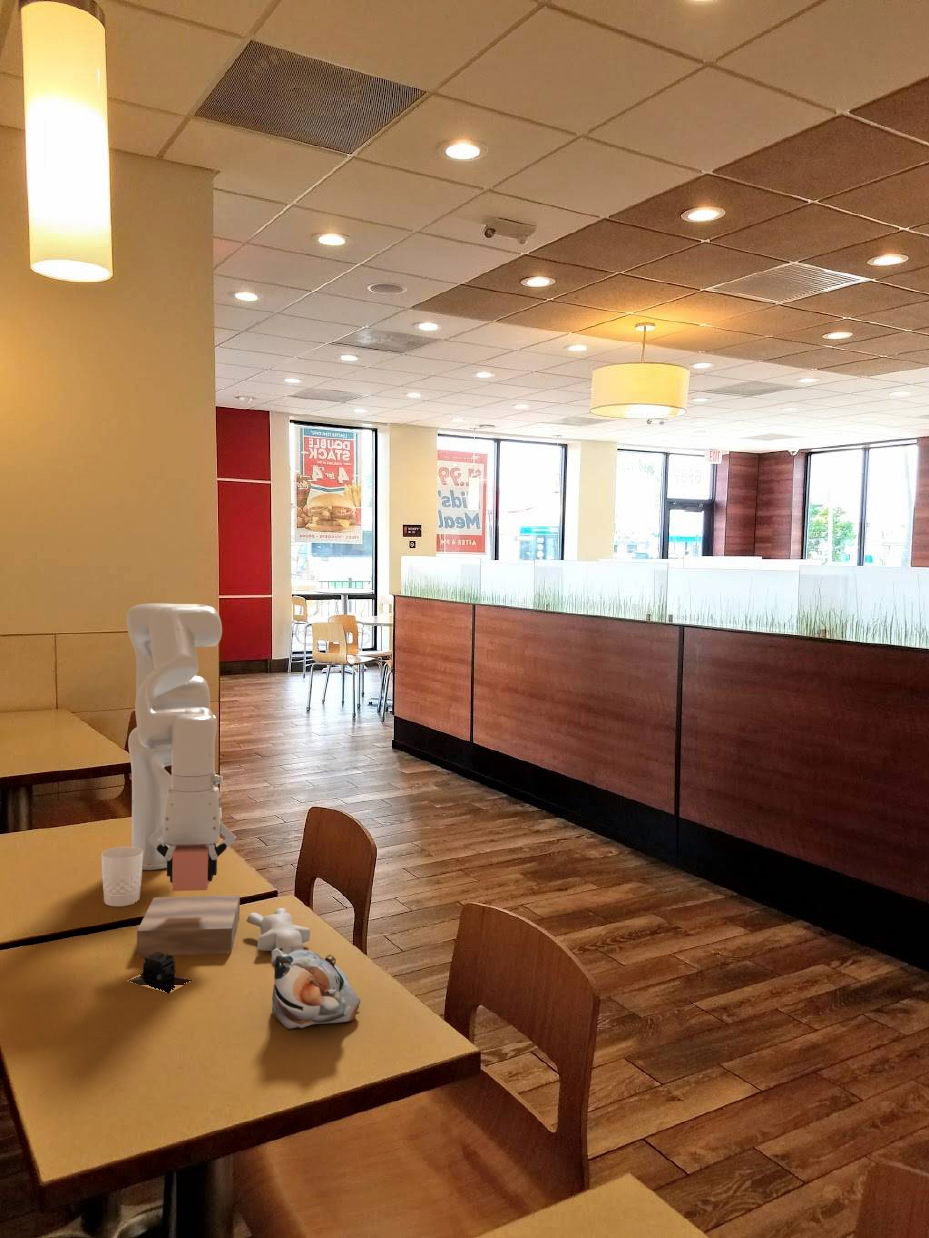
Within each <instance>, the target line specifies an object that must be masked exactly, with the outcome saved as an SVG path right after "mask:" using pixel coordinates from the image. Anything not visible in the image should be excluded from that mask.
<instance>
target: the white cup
mask: <svg viewBox="0 0 929 1238" xmlns="http://www.w3.org/2000/svg"><path fill="white" fill-rule="evenodd" d="M100 854H101V876H102V890H103V902H104V904H105V905H107V906H110V907H117V908H119V907H126V906H131V905H134V904H136V903H137V901H138V900H139V901H140V897H141V887H142V879H143V870H142V864H143V850H142V849H141V848H138V847H133V846H132V845H130V846H129V845H126V846H115V847H110V848H108V849H107V848H106V849H105V850H103V851H102V852H101V853H100ZM139 901H138V902H139ZM135 902H136V903H135Z"/></svg>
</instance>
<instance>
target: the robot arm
mask: <svg viewBox="0 0 929 1238" xmlns="http://www.w3.org/2000/svg"><path fill="white" fill-rule="evenodd" d="M126 629H127V634H128V637H129V639H130V643H131V645H132V647H133V649H134V653H135V658H136V659H135V660H136V669H135V670H136V679H135V680H136V681H135V682H136V683H135V694H136V695H135V697H136V698H135V701H134V702H135V703H134V705H135V706H134V708H135V719H136V720H135V721H136V722H135V723H136V727H134V728H133V729H132V730H131V732H130V733H129V736H128V740H127V742H128V743H127V744H128V752H129V753H128V755H129V758H130V767H131V769H130V770H131V846H133V847H138V848H141V849H142V850H143V864H142V871H155V870H163V869H166V877H169V883H172V867H173V851H174V850H175V849H176V847H177V846H192V845H206V847H207V849H208V852H209V855H210V856H209V860H208V881H209V883H210V882H212V881H213V878H214V876H217V873H218V858H219V857H220V855H222V854H223V853H224V852H225V851H226V850H227V848H228V847H230V846H231V845H232V844H233V843H234V842H235V841H236V838H237V836H236V835H235V834H234V833H233V832H232V831H231V830H230V829H229V828H228V827H227V826H226V825H225V824H224V823H223V812H222V799H221V793H220V789H219V787H218V786H216V785H218V784H222V783H223V778H224V777H223V775H219V774H217V773H216V769H215V768H216V767H215V766H216V765H215V764H216V763H215V762H216V760H215V757H216V749H215V747H216V735H217V731H218V730H217V729H218V723H217V722H218V721H217V717H216V716H215V714H214V712H212V710H211V693H210V686H209V684H208V682H207V680H206V679H205V678H204V677H202V676H200V675H197V674H198V673H199V670H200V669H199V667H200V664H199V660H198V653H197V649H196V648H198V647H199V648H200V647H205V648H206V647H215V646H217V645H218V644H219V643H220V641H221V639H222V635H223V625H222V620H221V617H220V615H219V613H218V611H217V610H216V609H215V608H214V607H213V606H210V605H207V604H202V603H201V604H200V603H162V602H161V603H159V602H157V603H155V602H154V603H142V604H137V605H134V606H132V607H130V609H128V611H127V613H126ZM168 766H169V767H170V766H171V774H170V773H169V772H168V771H167V770H166V769H165V767H168ZM222 836H223V837H224V838H225V839H224V840H223V841H222V842H221V843H220V844H219V845H217V843H219V841H220V838H221V837H222Z"/></svg>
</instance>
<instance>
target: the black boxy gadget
mask: <svg viewBox="0 0 929 1238" xmlns="http://www.w3.org/2000/svg"><path fill="white" fill-rule="evenodd" d="M174 957H175V955H168V954H166V955H164V953H160V952H156V953H154V954H152V955H150V956H145V957H144V962H143V963H142V964H143V965H142V966H143V968H142V972H143V973H142V972H141V973H142V974H140V973H139V974H140V975H141V976H139V977H136V978H134V979H132V980H129V982H130V981H131V982H133V983H134V985H136V984H138V985H137V986H140V985H149V986H151V987H154V988H155V989H156V988H158V989H159V990H160V989H161V990H162V991H163V990H164V991H165V992H167V993H168V995H170V994H169V993H170V991H171V989H172V990H174V989H173V988H175V986H174V985H185V984H186V982H187V983H188V982H189V981H191V982H193V981H192V980H193V979H190V980H189V978H187V977H183V978H181V977H182V976H179V977H177V976H178V975H176V962H175V961H174V960H175V958H174ZM175 975H176V976H175ZM184 978H185V979H184ZM186 978H187V979H186ZM129 982H128V983H129ZM133 983H132V984H133ZM135 983H136V984H135ZM184 983H185V984H184ZM188 984H189V983H188ZM186 985H187V984H186ZM186 985H185V986H186ZM167 993H166V994H167Z"/></svg>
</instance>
